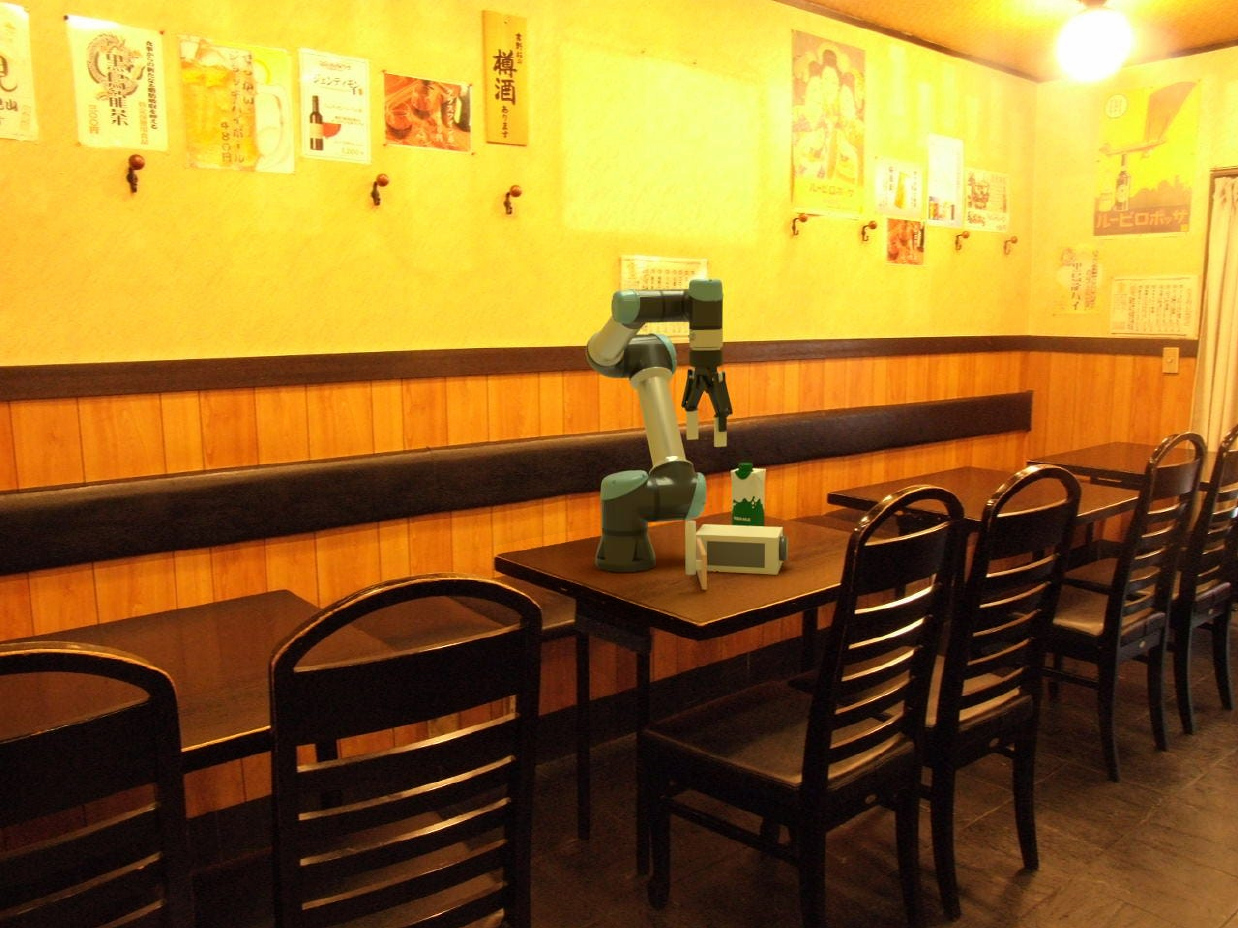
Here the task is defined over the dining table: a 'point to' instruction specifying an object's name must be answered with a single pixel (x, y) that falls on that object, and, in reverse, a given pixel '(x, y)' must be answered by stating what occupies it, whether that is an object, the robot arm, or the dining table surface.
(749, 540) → the camera body
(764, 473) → the milk carton
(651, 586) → the dining table surface
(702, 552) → the side door
